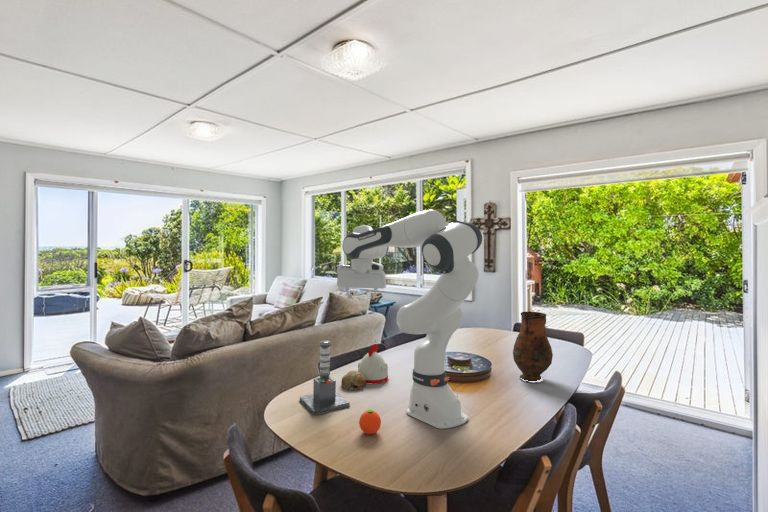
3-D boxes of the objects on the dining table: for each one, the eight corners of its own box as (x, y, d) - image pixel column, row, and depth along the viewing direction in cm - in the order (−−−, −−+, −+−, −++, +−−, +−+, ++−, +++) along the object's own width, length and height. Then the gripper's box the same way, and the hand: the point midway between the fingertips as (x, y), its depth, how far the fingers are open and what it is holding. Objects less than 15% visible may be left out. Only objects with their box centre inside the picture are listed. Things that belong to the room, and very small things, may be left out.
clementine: (358, 426, 125) (359, 404, 125) (379, 425, 125) (380, 404, 125) (359, 438, 117) (359, 416, 117) (381, 438, 117) (381, 415, 117)
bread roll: (342, 398, 156) (344, 383, 152) (339, 379, 165) (340, 365, 161) (366, 395, 159) (368, 381, 155) (361, 377, 168) (363, 363, 164)
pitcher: (505, 379, 171) (507, 312, 170) (525, 368, 186) (527, 307, 185) (542, 389, 160) (544, 318, 158) (560, 377, 175) (563, 312, 174)
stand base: (349, 406, 140) (350, 380, 139) (313, 415, 132) (314, 387, 132) (333, 393, 151) (333, 369, 151) (299, 400, 144) (300, 375, 144)
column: (332, 388, 141) (333, 342, 140) (321, 390, 138) (321, 344, 138) (327, 384, 145) (328, 339, 144) (316, 386, 142) (316, 341, 142)
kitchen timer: (392, 375, 173) (393, 343, 172) (380, 386, 160) (380, 350, 160) (365, 371, 178) (366, 339, 178) (351, 380, 166) (351, 346, 165)
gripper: (335, 265, 154) (334, 299, 154) (385, 266, 152) (385, 300, 153) (338, 264, 160) (338, 296, 161) (386, 265, 158) (386, 298, 159)
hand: (361, 298), depth 157 cm, fingers open, 8 cm apart
